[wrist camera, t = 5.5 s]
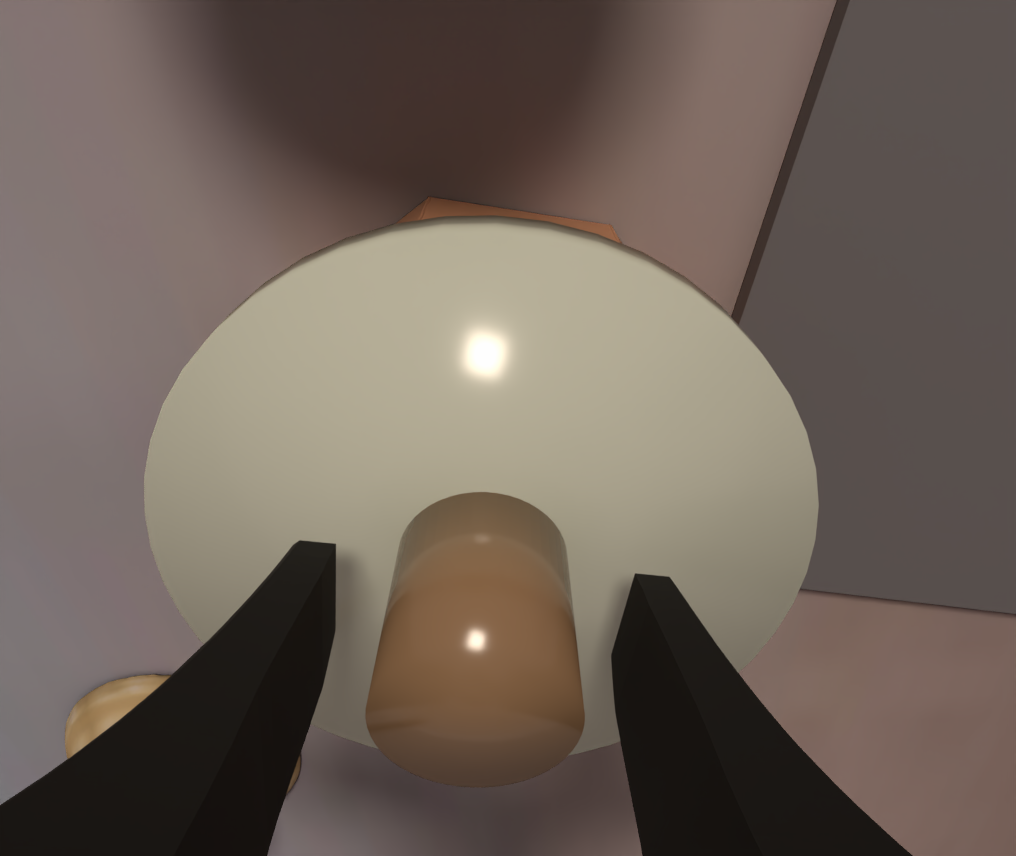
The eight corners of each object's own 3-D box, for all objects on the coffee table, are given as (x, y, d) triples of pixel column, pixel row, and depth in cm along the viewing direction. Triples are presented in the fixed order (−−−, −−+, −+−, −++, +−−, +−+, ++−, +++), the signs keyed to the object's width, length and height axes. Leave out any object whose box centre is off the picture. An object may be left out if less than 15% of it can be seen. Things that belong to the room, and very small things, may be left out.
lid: (940, 397, 13) (1131, 567, 9) (602, 776, 18) (628, 981, 14) (265, 67, 10) (110, 100, 6) (116, 632, 16) (-13, 835, 12)
